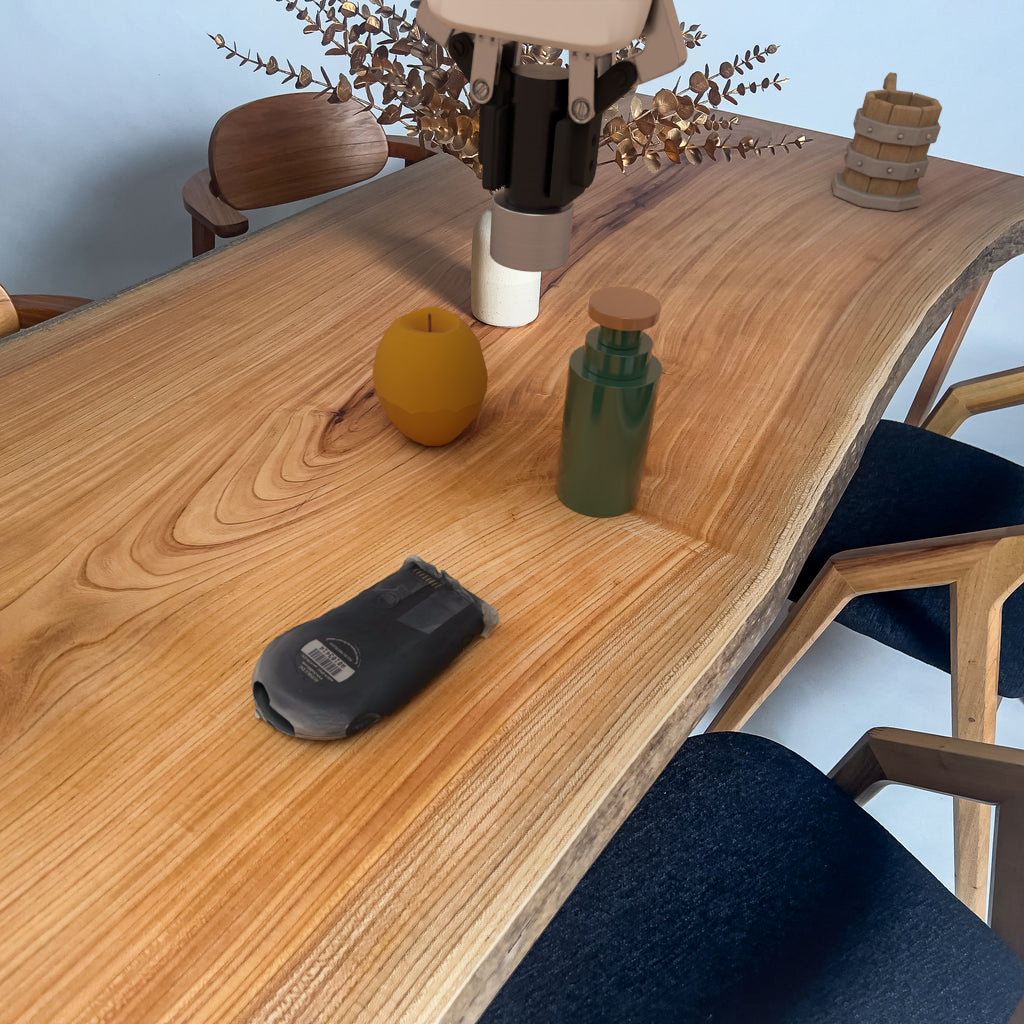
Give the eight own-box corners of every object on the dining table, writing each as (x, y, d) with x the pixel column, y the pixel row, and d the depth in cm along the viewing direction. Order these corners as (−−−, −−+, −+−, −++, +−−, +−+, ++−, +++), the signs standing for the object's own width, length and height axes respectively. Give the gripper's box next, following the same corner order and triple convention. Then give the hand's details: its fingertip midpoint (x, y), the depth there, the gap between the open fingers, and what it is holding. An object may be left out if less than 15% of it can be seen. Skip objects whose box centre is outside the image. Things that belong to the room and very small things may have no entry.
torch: (584, 263, 47) (606, 78, 42) (518, 278, 46) (531, 86, 40) (538, 235, 50) (553, 57, 44) (474, 248, 48) (480, 64, 43)
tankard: (922, 215, 133) (960, 107, 123) (834, 204, 134) (864, 96, 125) (906, 173, 148) (938, 74, 139) (827, 164, 150) (853, 65, 140)
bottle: (656, 501, 75) (694, 311, 64) (588, 527, 71) (616, 332, 61) (604, 458, 79) (632, 274, 68) (538, 481, 76) (556, 292, 65)
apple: (387, 399, 84) (383, 281, 77) (490, 409, 84) (496, 291, 77) (365, 459, 77) (358, 334, 69) (478, 470, 76) (484, 346, 69)
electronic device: (396, 590, 67) (221, 683, 56) (410, 533, 63) (227, 621, 53) (487, 668, 63) (317, 785, 52) (507, 612, 59) (330, 724, 49)
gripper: (333, -315, 34) (355, 178, 46) (760, -297, 29) (664, 253, 40) (433, -295, 39) (431, 141, 51) (807, -277, 34) (711, 203, 46)
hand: (534, 187), depth 46 cm, fingers closed on torch, 3 cm apart
